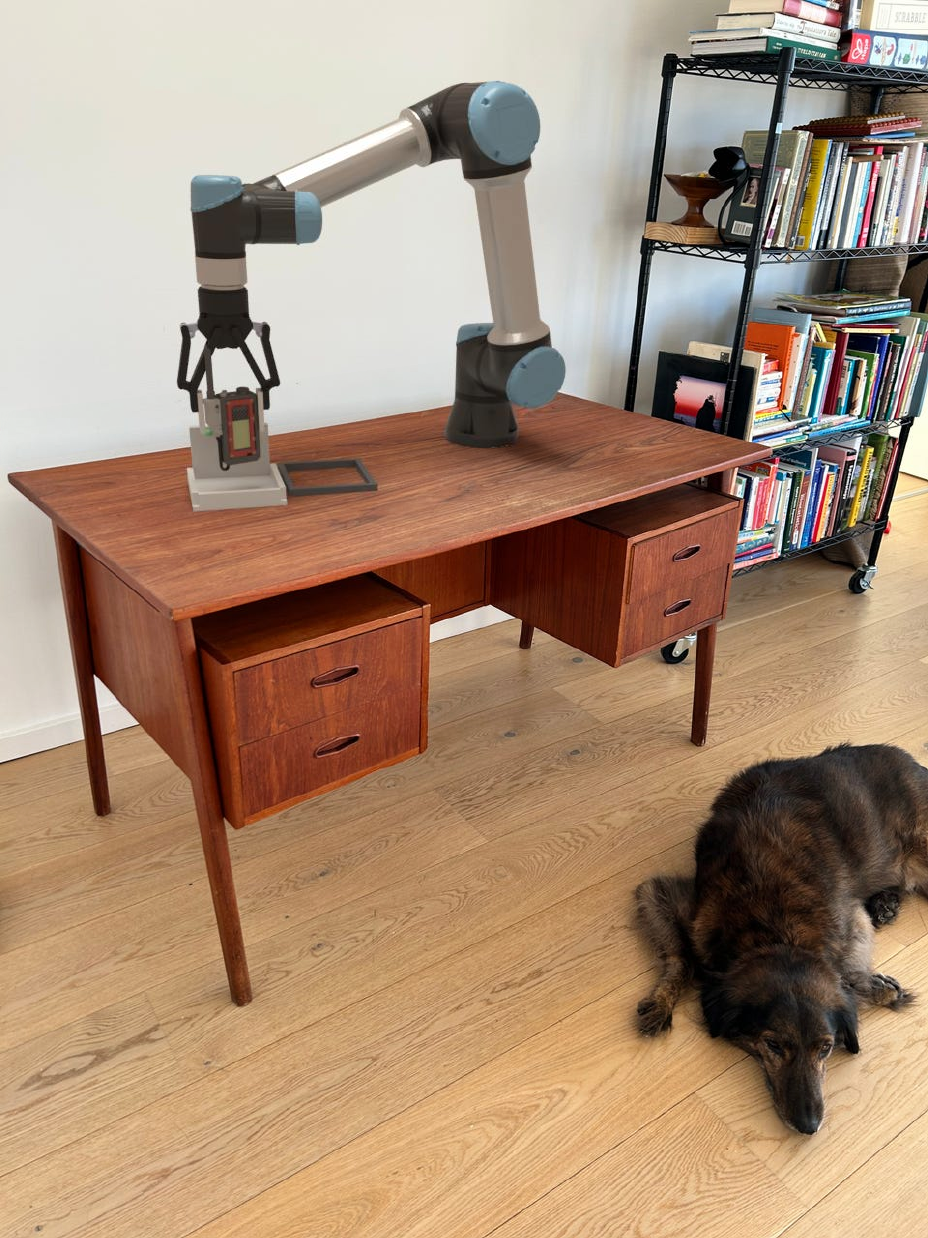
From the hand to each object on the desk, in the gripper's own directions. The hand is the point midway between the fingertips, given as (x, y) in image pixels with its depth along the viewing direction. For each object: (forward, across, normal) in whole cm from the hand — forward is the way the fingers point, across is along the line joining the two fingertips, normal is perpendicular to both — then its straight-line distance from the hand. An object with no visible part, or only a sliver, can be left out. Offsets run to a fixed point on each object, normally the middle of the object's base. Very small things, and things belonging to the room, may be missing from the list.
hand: (232, 430), depth 158 cm
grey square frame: (+11, -16, -4) cm, 20 cm away
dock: (+11, 0, 0) cm, 11 cm away
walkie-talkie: (+7, 0, 0) cm, 7 cm away
